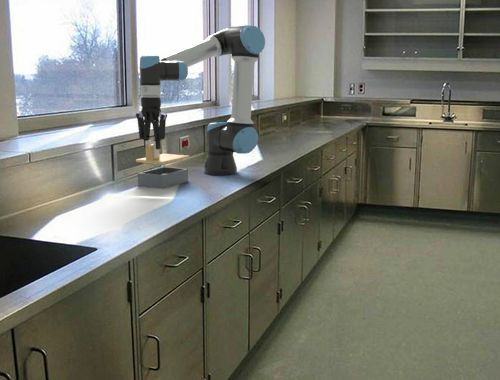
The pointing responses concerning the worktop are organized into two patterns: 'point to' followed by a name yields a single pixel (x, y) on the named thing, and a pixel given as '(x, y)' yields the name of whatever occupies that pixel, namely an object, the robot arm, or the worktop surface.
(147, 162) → the lid
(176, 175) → the tub
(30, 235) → the worktop surface
